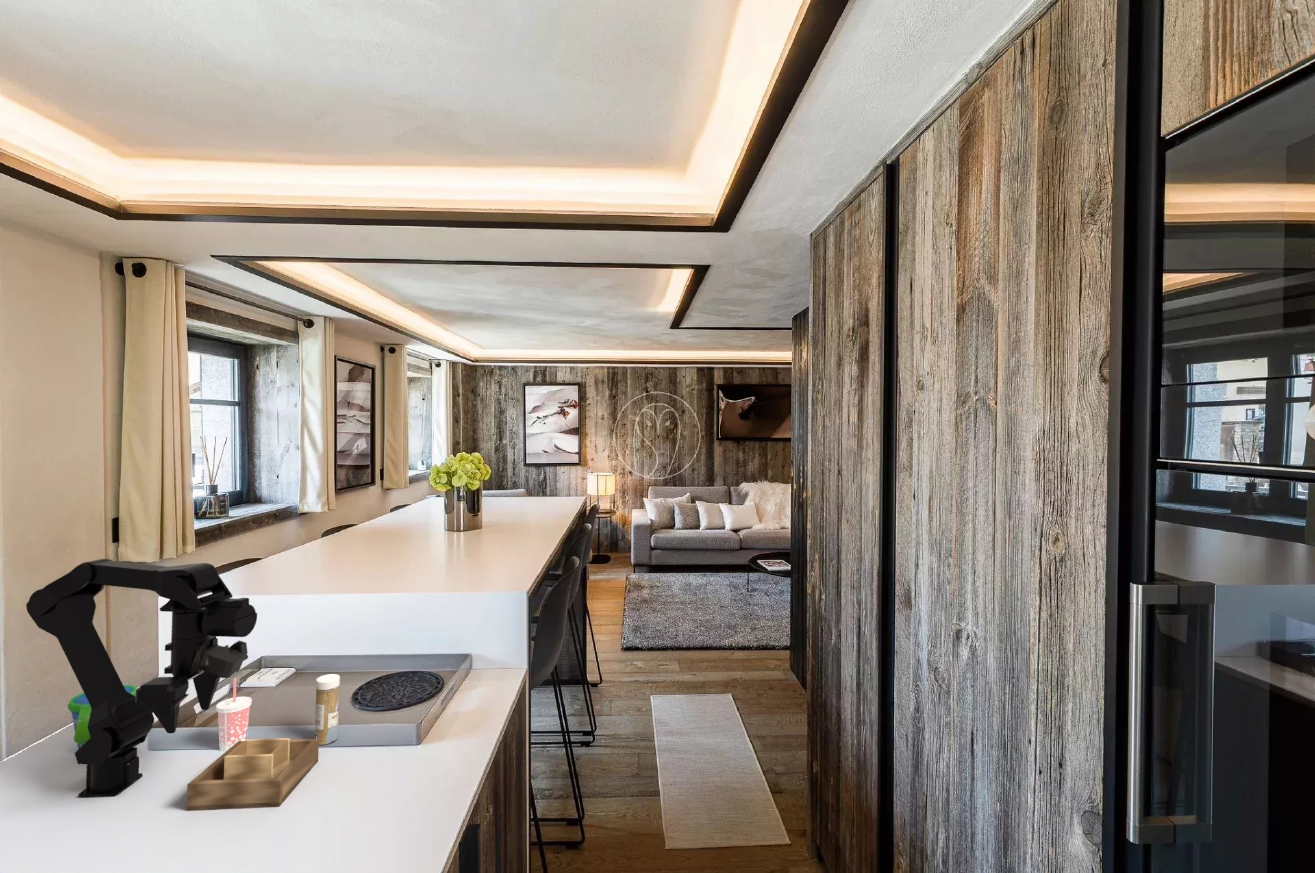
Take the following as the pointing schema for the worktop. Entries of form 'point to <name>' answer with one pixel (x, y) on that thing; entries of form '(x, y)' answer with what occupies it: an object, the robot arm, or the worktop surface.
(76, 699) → the snack cup
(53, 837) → the worktop surface
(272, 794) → the walnut crate
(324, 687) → the spice jar
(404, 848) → the worktop surface
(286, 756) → the oak crate
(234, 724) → the beverage cup
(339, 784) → the worktop surface
